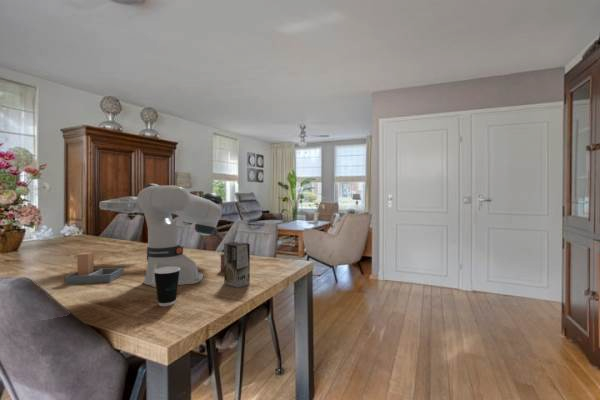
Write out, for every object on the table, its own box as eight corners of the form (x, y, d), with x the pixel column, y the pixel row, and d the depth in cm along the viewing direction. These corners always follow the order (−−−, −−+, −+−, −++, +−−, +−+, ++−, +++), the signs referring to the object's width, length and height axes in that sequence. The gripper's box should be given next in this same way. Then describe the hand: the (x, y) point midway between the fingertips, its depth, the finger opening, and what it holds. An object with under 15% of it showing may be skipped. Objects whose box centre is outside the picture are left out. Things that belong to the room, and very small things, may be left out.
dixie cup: (161, 298, 97) (161, 266, 97) (184, 299, 97) (184, 266, 97) (148, 307, 89) (148, 272, 89) (173, 308, 89) (173, 272, 89)
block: (93, 276, 122) (93, 252, 122) (88, 278, 118) (88, 254, 118) (83, 276, 121) (82, 252, 121) (77, 279, 117) (77, 254, 117)
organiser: (123, 274, 127) (123, 267, 127) (110, 282, 116) (110, 274, 116) (82, 276, 125) (82, 269, 125) (64, 284, 113) (64, 276, 113)
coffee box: (250, 284, 113) (250, 243, 113) (236, 288, 109) (236, 245, 108) (237, 279, 120) (237, 241, 119) (223, 283, 115) (223, 242, 115)
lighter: (238, 270, 134) (238, 249, 134) (234, 272, 131) (234, 250, 131) (223, 269, 137) (223, 248, 137) (219, 271, 134) (219, 249, 134)
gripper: (149, 210, 155) (139, 212, 141) (107, 210, 151) (93, 212, 138) (149, 198, 154) (139, 199, 141) (107, 198, 151) (93, 199, 138)
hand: (116, 205), depth 139 cm, fingers open, 8 cm apart
